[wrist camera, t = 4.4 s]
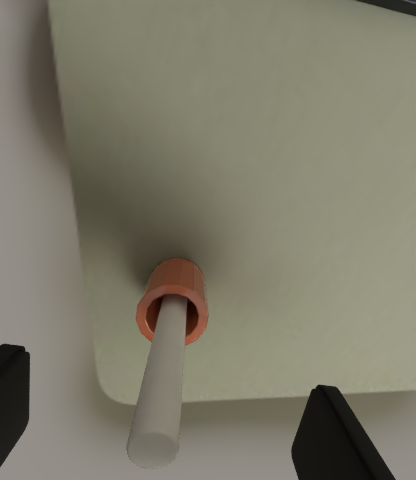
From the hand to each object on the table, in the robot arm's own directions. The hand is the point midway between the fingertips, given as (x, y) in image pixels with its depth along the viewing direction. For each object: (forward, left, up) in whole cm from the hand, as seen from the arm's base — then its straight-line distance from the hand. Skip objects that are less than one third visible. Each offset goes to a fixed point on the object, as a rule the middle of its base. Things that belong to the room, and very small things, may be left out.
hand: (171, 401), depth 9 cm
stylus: (0, 0, -8) cm, 8 cm away
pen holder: (0, 0, -9) cm, 9 cm away
